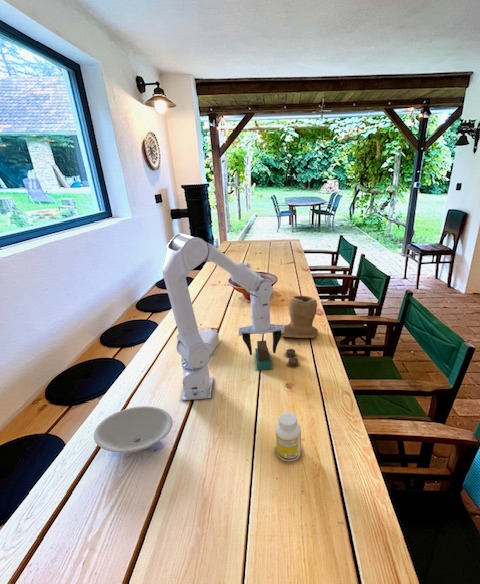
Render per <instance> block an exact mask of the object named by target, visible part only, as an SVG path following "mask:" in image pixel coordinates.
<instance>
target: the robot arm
mask: <svg viewBox="0 0 480 584" xmlns="http://www.w3.org/2000/svg"><path fill="white" fill-rule="evenodd" d="M166 250H167V251H166V255H165V259H164V263H163V266H162V277H163V280H164V283H165V288H166V291H167V295H168V299H169V302H170V307H171V310H172V313H173V314H172V315H173V317H174V321H175V324H176V325H175V326H176V329H177V332H178V333H177V335H176V339H177V340H176V346H175V347H176V352H177V353H178V354H179V355H180V356H181V369H182V374H183V377H182V386H183V392H182V396H181V400H182V401H190V400H191V401H192V400H204V399H210V398H212V390H213V382H214V378H213V377H210V371H209V361H210V359H211V355H210V352H209V350H208V349H207V348H206V347H205V344H204V341H203V339H202V337H201V336H200V334H199V332H198V331H199V329H198V323H197V320H196V316H195V310H194V306H193V303H192V298H191V294H190V290H189V285H188V281H187V276H188V275H189V274H190V273H191V272H192V271H193V270H195V268H197V267H198V266H200V265H202V263H203V262H205V263H213V264H214V265H216V266H217V267H219V268H220V269H222V270H224V271H225V272H228V273H229V276H230V277H229V278H230V280H231V281H232V282H233V283H235V284H237V285H238V286H240V287H241V288H243V289H244V290H245V291H246V292H247V293H249V297H250V312H251V325H247V326H242V327H238V337H242V340H243V342H244V344H245V346H246V348H247V349H248V352H249V355H250V356H252V355H253V351H252V342H251V340H252V339H251V335H264V334H270V333H271V334H272V352H273V354H276V352H277V347H278V344H279V343H280V340H281V339H282V337H281V333H284V325H285V324H273V323H271V310H270V309H271V308H270V301H271V296H272V294H273V292H274V287H273V286H272V283H271V281H270V280H268V279H266V278H263V277H262V274H261V273H260V272H256V271H254V270H253V269H252V268H251V265H250V264H249V263H247V262H246V263H243V262H240V263H239V262H238V263H237V262H234V261H233V259H231V258H230V257H229V256H228V255H226V254H225V253H223V252H222V251H221V250H220V249H218V248H217V246H215V245H213V244H212V243H210V242H207V241H205V240H204V239H203V238H201V237H197V236H196V237H195V236H192V235H189V234H187V233H183V232H181V233H177V234H175V235H173V237H172V238H171V240H170V241H168V244H167V245H166Z"/></svg>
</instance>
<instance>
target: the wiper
mask: <svg viewBox="0 0 480 584" xmlns="http://www.w3.org/2000/svg"><path fill="white" fill-rule="evenodd" d="M254 350H255V351H254V352H255V362H256V363H255V364H256V371H263V370H265V371H266V370H272V363H271V362H272V361H271V357H270V352H269V347H268V344H267V339H266V340H265V339H264V340H257V341H256V348H254Z"/></svg>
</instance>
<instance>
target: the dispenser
mask: <svg viewBox="0 0 480 584" xmlns="http://www.w3.org/2000/svg"><path fill="white" fill-rule="evenodd" d="M198 332H199V334H200V336H201V337H202V339H203V341H204V344H205V347H206V348H207V349H208V350H209V352H210V356H211V355H212V354H213V353H214V351H215V349H216V348H217V346H218V344H219V342H220V336H219V333H218V331H217V330H215V328H213V329H211V328H209V329H208V328H207V329H204V330H198Z"/></svg>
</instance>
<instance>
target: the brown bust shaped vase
mask: <svg viewBox="0 0 480 584" xmlns="http://www.w3.org/2000/svg"><path fill="white" fill-rule="evenodd" d="M317 310H318V301H317V299H316V298H314V297H312V296H308V295H293V296H291V297H290V299H289V302H288V312H289V318H290V321H289V323H288V324H283V325H284V333H281V338H282V337H283V338H298V339H299V338H300V339H313V338H314V339H315V338H317V336H318V335H319V329H318V328H316V327H315V326H313V323H314V320H315V317H316V314H317Z"/></svg>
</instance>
